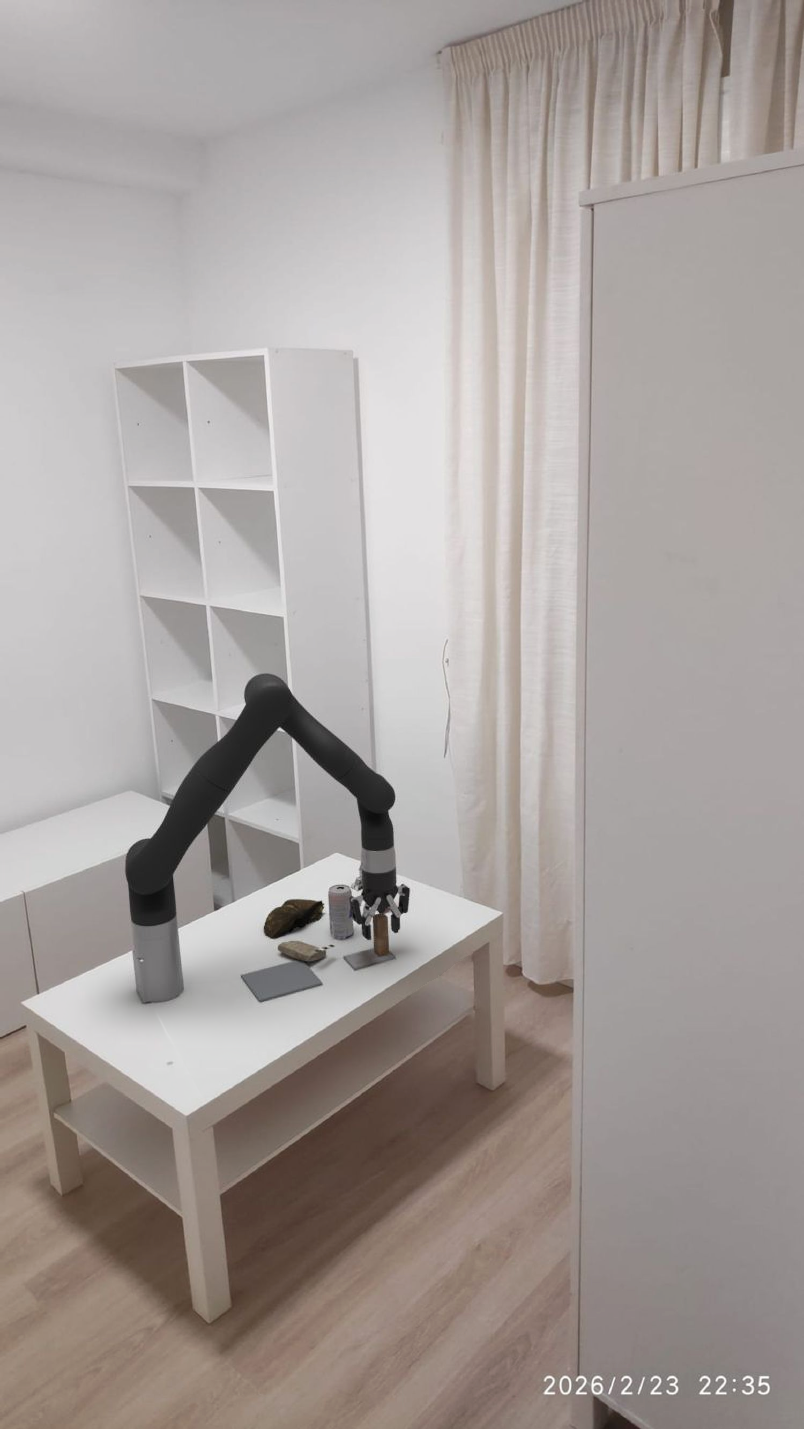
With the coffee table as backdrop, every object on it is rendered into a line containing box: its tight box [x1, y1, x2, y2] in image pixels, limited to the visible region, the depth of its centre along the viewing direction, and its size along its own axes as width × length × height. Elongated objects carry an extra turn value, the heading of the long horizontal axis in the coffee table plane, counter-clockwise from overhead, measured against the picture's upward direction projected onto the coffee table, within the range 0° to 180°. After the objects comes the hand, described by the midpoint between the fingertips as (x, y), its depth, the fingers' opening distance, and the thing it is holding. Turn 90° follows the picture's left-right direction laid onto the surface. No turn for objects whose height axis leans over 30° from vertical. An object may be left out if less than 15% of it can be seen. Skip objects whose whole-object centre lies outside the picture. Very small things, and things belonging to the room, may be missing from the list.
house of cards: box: [349, 864, 363, 892], centre depth 261 cm, size 9×9×8 cm
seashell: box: [263, 898, 325, 939], centre depth 244 cm, size 16×9×7 cm, turn 137°
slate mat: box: [240, 959, 324, 1003], centre depth 221 cm, size 14×12×1 cm
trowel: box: [342, 912, 397, 972], centre depth 228 cm, size 10×6×10 cm, turn 117°
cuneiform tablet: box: [277, 940, 335, 962], centre depth 230 cm, size 6×4×12 cm
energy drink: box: [327, 884, 354, 941], centre depth 238 cm, size 5×5×12 cm
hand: (381, 934), depth 229 cm, fingers open, 6 cm apart
